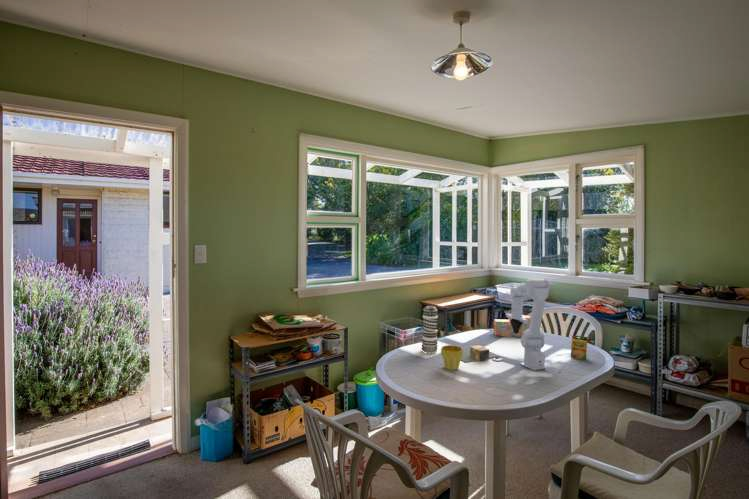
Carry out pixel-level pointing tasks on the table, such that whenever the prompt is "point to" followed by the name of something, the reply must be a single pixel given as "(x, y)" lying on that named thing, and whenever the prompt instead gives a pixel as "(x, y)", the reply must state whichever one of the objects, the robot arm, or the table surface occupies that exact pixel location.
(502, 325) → the stack of blocks
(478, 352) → the oak block
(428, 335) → the decorative candle
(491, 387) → the table surface
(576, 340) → the crayon box
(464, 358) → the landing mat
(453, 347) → the plant pot
